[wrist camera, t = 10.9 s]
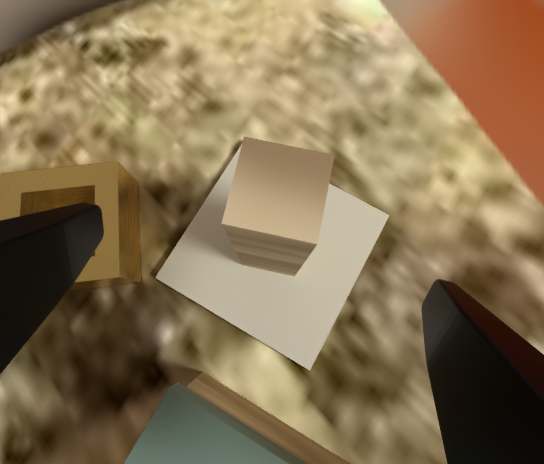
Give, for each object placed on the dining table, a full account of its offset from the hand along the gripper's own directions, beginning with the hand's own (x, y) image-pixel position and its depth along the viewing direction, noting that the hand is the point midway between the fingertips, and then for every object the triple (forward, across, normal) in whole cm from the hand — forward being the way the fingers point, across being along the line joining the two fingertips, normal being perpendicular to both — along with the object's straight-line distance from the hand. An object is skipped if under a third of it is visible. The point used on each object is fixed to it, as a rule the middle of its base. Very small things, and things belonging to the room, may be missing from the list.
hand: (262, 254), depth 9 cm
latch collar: (+8, +11, +7) cm, 16 cm away
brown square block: (+9, 0, +6) cm, 11 cm away
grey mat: (+10, 0, +6) cm, 11 cm away
